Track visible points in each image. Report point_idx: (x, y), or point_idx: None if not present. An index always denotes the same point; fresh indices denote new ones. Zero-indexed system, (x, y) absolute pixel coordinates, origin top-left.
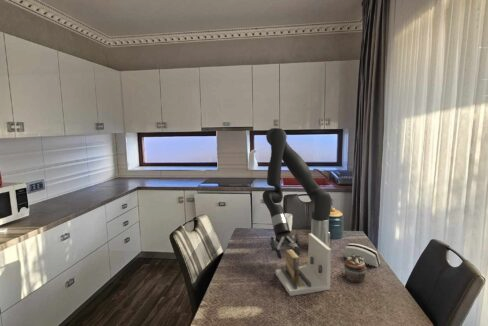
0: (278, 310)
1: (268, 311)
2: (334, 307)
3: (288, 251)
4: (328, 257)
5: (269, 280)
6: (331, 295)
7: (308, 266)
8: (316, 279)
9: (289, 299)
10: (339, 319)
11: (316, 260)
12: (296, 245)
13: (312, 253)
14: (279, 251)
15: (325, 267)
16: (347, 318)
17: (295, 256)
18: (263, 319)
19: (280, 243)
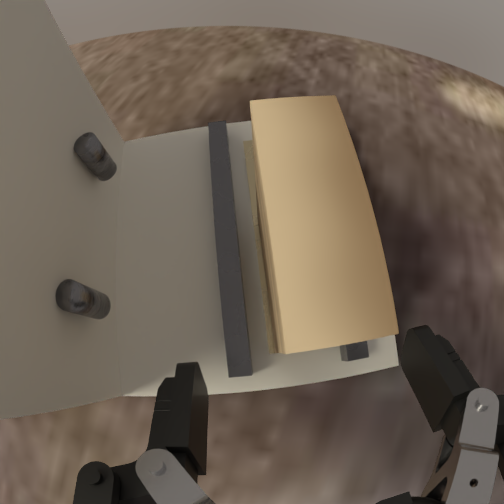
0: (388, 75)
1: (421, 80)
2: (172, 65)
3: (365, 277)
4: (46, 16)
5: (432, 285)
6: (137, 121)
7: (125, 378)
8: (144, 200)
9: (342, 112)
10: (191, 31)
11: (59, 225)
12: (158, 474)
13: (34, 306)
14: (454, 375)
15: (79, 92)
16: (165, 35)
17: (290, 119)
18: (429, 61)
19: (475, 468)
